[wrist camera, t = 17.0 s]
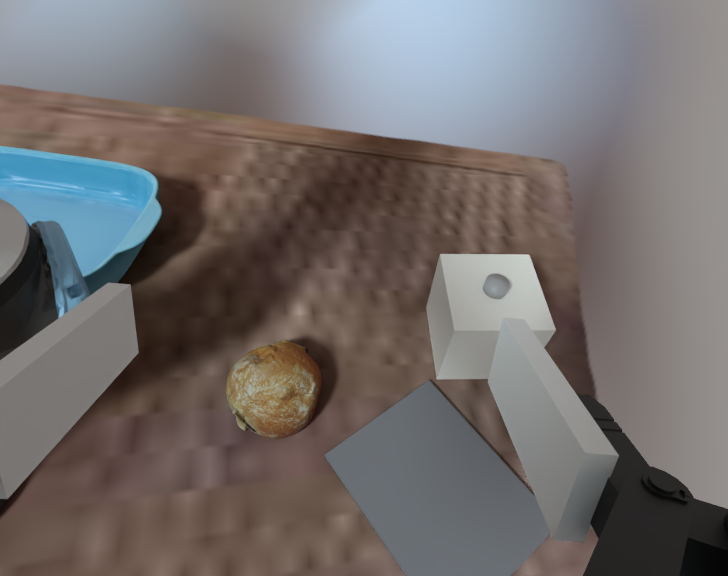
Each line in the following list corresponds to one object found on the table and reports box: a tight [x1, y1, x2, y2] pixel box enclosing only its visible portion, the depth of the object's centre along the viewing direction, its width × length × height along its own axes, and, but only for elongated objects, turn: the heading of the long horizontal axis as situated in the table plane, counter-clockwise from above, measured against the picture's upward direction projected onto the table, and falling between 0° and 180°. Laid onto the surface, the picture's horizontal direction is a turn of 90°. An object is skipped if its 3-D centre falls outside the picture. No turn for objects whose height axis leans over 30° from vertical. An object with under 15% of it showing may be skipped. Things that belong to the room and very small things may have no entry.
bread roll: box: [226, 340, 322, 439], centre depth 47 cm, size 10×10×8 cm
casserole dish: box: [0, 146, 162, 295], centre depth 59 cm, size 37×22×7 cm, turn 82°
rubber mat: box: [325, 380, 550, 576], centre depth 44 cm, size 18×14×1 cm
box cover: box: [426, 254, 556, 379], centre depth 50 cm, size 10×10×11 cm
